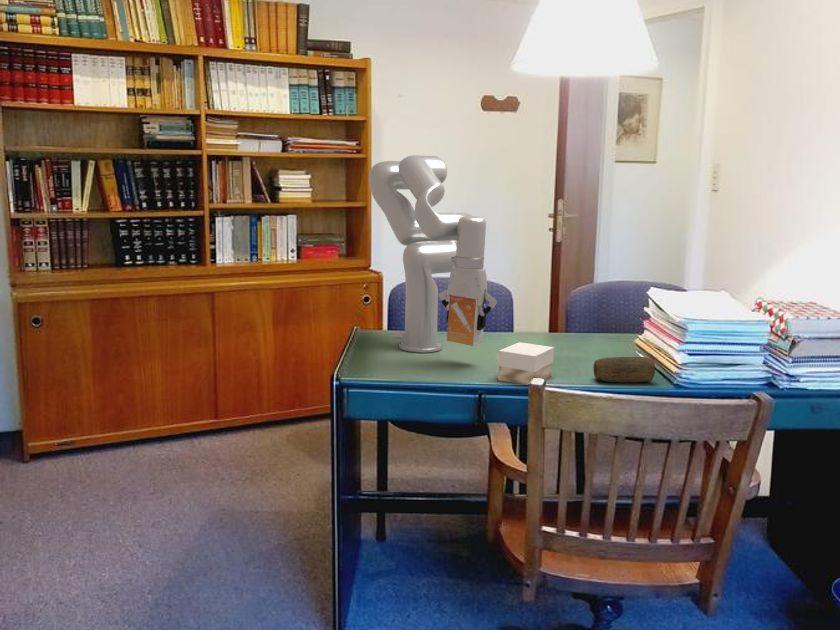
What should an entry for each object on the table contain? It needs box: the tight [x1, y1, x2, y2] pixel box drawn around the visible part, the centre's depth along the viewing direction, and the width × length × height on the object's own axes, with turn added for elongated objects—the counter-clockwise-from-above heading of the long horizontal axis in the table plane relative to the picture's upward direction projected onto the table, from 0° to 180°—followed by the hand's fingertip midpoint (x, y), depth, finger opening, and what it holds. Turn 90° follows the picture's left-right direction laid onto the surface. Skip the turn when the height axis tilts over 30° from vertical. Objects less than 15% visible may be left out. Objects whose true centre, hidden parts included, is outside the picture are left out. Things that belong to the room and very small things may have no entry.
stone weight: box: [592, 356, 656, 383], centre depth 198 cm, size 15×7×7 cm, turn 95°
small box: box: [446, 295, 486, 347], centre depth 209 cm, size 8×6×13 cm
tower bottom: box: [497, 363, 553, 386], centre depth 200 cm, size 10×12×4 cm
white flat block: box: [497, 341, 555, 372], centre depth 199 cm, size 10×12×4 cm
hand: (465, 326), depth 210 cm, fingers closed on small box, 8 cm apart
